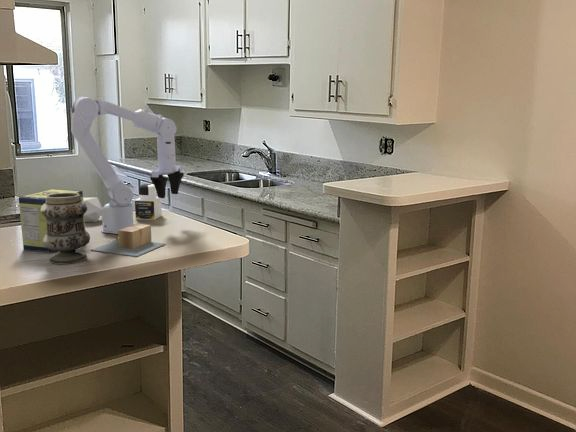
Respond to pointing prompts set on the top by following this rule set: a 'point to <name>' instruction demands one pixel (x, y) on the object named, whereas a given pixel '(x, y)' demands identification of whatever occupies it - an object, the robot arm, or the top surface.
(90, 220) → the die
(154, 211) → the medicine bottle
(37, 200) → the protein box
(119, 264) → the top surface
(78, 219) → the apothecary jar
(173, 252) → the top surface
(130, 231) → the oak block
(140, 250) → the slate mat
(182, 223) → the top surface
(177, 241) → the top surface
